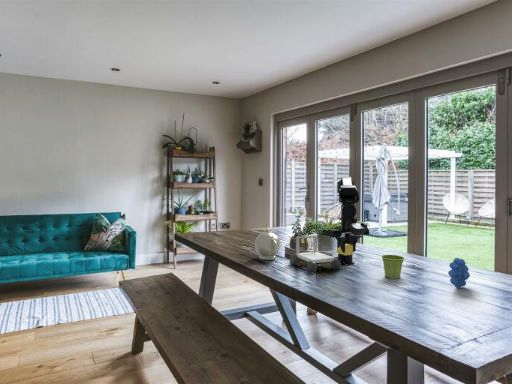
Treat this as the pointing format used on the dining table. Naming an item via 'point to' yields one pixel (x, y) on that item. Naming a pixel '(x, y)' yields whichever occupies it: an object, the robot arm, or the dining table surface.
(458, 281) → the grapes
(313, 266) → the trolley
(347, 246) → the yellow step block
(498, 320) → the dining table surface
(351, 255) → the robot arm
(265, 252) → the teapot
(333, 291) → the dining table surface
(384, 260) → the plant pot
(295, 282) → the dining table surface
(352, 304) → the dining table surface
